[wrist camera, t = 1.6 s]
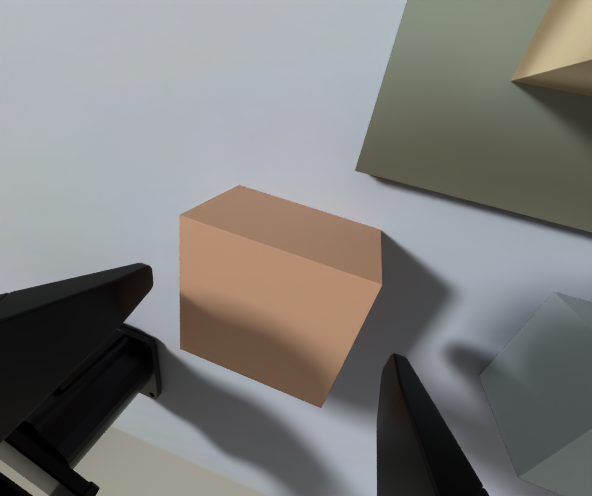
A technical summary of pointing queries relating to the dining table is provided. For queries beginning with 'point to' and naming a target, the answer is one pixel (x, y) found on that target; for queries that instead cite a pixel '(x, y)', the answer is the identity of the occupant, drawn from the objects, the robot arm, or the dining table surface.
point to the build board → (490, 106)
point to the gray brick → (547, 396)
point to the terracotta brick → (275, 289)
